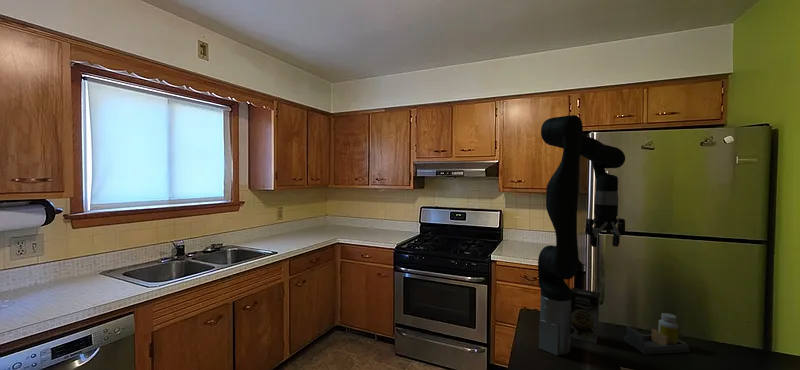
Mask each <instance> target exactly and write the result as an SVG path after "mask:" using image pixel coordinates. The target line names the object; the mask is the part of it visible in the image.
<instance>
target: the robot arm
mask: <svg viewBox="0 0 800 370" xmlns="http://www.w3.org/2000/svg"><path fill="white" fill-rule="evenodd" d="M583 133H584V127H583V122H582V119H581V117H580V116H578V115H575V114H571V115H570V114H569V115H563V116H556V117H555V116H554V117H551V118H547V119H546V120H545V121H544V122H543V123H542V125H541V127H540V136H541V138H542V141H543V142H544V143H545V144H546V145H549V146H551V147H555V148H559V149H563V150H562V151H563V152H562V157H561V161H560V163H559V165H558V167H557V168H556V169H555V171H554V173H553V174H552V176H551V177H550V179H549V181H548V183H547V185H546V191H545V192H546V193H545V195H546V196H545V207H546V211H547V214H548V216H549V219H550V221H551V224H552V226H553V229H554V232H555V233H554V234H555V245H546V246H545V247H543V248H542V249H541V250H540V253H539V254H538V259H537V279H538V286H539V289H540V305H539V307H540V308H539V309H540V311H539V312H540V313H539V329H538V330H539V334H538V348H539V349H540V350H542V351H544V352H547V353H550V354H553V355H555V356H560V355H568V354H569V353H570V352H571V337H570V335H571V304H572V291H571V289H572V288H570V286H569V285H568V284H567V283H566V282H565V280H571V279H573V278H574V277H575V275H576V274H577V271H578V270H579V260H580V259H579V257H580V255H579V247H578V204H579V169H580V168H579V167H580V160H581V159H580V158H581V157H583V158H584V159H587V160H589V162H591V164H592V165H591V166H592V169H593V172H594V178H595V193H594V209H593V210H594V211H593V213H594V218H586V220H585V229H584V230H585V231H584V233H585V235H588V236H589V237H590V239H589V241H590V243H589V244H590V246H591V247H593V248H597V246H598V236H599V234H600V233H602V232H603V231H604V232H605V231H609V232H611V234H612V235H613V236H612V246H613V247H615V248H616V247H617V248H618V247H619V246H620V237H622V236H625V235H626V219H624V218H621V217H619V218H617V217H618V216H619V213H618V212H619V192H618V191H619V178H618V176H616V175H614V174H610V173H608V172H607V170H606V169H618V168H621V167H622V166H623V165H624V164H625V162H626V155H625V153H624V151H623V150H622V149H620V148H618V147H616V146H612V145H608V144H604V143H602V142H601V141H599V140H597V139H596V138H593V137H590V136H587V135H583ZM616 225H617V226H616Z"/></svg>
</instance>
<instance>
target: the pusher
mask: <svg viewBox="0 0 800 370" xmlns="http://www.w3.org/2000/svg"><path fill="white" fill-rule="evenodd" d="M651 340H652V341H654V342H656V343H657V344H659V345H668V340H669V337H668V336H666V335H664V334H662V333H660V332H658V330H657V329H655V328H651Z"/></svg>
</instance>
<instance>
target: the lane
mask: <svg viewBox="0 0 800 370" xmlns="http://www.w3.org/2000/svg"><path fill="white" fill-rule="evenodd" d="M651 334H652V333H651ZM651 334H650V333H649V334H642V333H640V332H639V331H638V330H637V329H634V328H633V327H630V326H626V335H624V339H623V341H624V342H625V343H627V344H628V345H629V346H631V347H633V348H634V349H635V350H638V351H639V352H641V353H642V354H644V355H655V354H673V353H690V352H691V350H690V347H689V346H690V345H689V344H688V343H686V342H684V341H682V340H681V339H678V344H676V345H659V344H657V343H656V342H654V341H652V340H651Z"/></svg>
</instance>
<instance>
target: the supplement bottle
mask: <svg viewBox="0 0 800 370" xmlns="http://www.w3.org/2000/svg"><path fill="white" fill-rule="evenodd" d="M657 325H658V326H657V329H658V330H657V331H658V332H660V333H662V334H664V335H666V336H668V337H669V340H668V345H676V344H678V340H679V330H680V328H679V324H678V323H677V316H676V315H675V314H672V313H667V312H662V313H661V318H660V319H659V320H658V324H657Z"/></svg>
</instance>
